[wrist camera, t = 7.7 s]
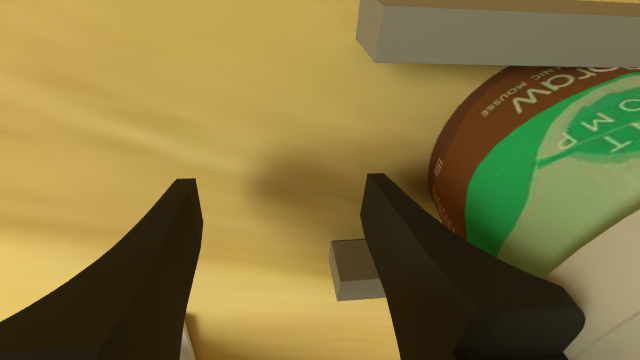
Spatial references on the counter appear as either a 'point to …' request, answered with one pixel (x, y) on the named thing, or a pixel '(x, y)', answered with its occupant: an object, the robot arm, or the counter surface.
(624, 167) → the food container
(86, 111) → the counter surface
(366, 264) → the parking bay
